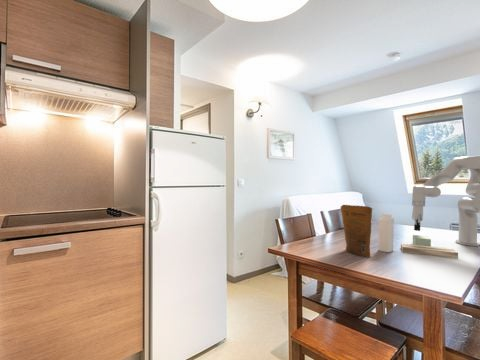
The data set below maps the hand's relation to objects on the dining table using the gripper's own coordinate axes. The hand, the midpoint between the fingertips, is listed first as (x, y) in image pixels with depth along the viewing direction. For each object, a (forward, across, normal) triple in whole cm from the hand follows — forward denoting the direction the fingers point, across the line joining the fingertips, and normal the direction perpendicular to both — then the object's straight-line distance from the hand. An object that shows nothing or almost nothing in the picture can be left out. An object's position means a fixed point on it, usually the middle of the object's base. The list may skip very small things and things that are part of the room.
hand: (417, 230), depth 181 cm
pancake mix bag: (+10, +51, -37) cm, 63 cm away
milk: (+9, +35, -21) cm, 42 cm away
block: (+8, +11, +1) cm, 14 cm away
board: (+8, +29, +1) cm, 30 cm away
